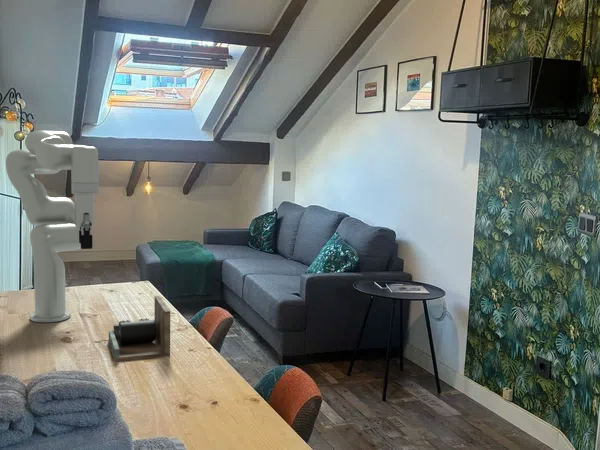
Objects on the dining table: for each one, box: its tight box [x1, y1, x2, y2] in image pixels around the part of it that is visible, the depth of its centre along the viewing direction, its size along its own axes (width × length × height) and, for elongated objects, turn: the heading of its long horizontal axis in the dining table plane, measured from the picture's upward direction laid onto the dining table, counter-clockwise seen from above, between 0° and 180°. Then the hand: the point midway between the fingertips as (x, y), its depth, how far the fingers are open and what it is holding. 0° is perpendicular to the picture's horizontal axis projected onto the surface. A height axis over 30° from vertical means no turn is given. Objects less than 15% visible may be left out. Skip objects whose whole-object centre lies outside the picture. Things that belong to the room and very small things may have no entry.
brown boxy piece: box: [108, 295, 171, 362], centre depth 177 cm, size 18×15×13 cm
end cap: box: [118, 318, 156, 345], centre depth 179 cm, size 10×7×7 cm
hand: (85, 245), depth 182 cm, fingers open, 9 cm apart
